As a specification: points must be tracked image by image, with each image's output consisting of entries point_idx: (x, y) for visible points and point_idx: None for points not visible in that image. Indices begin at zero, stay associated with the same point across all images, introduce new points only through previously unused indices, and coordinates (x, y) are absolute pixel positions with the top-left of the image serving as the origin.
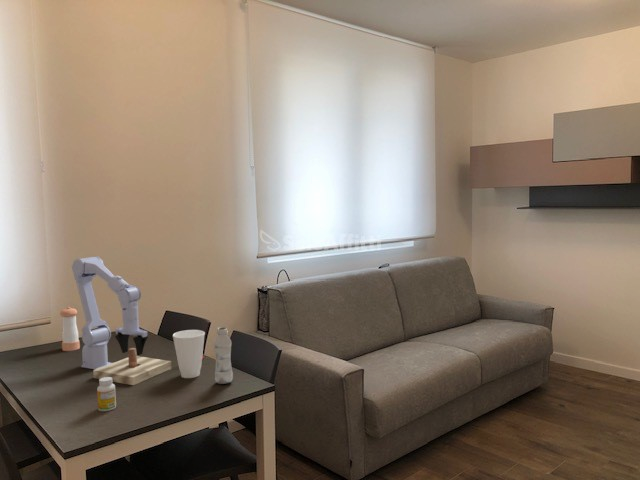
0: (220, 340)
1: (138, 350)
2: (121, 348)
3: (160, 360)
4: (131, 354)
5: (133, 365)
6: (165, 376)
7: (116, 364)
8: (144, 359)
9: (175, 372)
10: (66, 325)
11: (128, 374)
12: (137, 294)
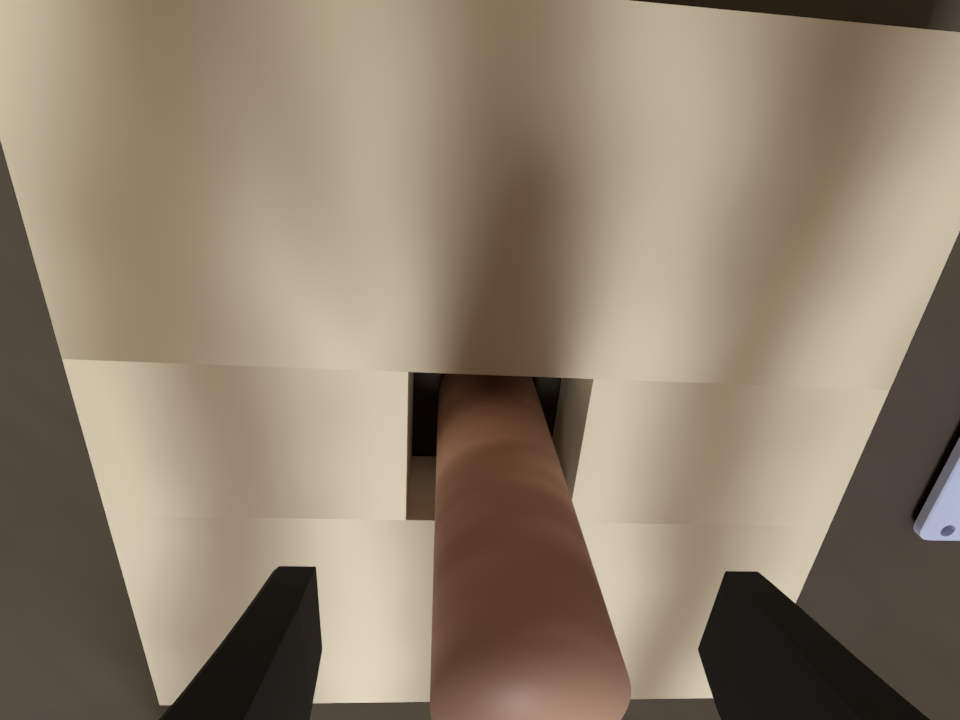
0: None
1: (201, 674)
2: (832, 651)
3: None
4: (477, 557)
5: (450, 431)
6: (19, 440)
7: (776, 413)
8: None
9: (50, 564)
10: None
11: (196, 65)
12: None
